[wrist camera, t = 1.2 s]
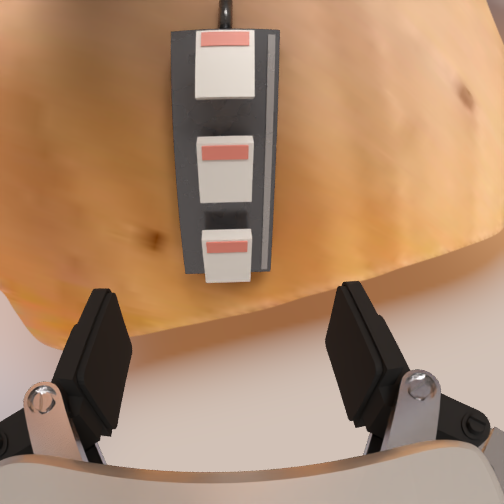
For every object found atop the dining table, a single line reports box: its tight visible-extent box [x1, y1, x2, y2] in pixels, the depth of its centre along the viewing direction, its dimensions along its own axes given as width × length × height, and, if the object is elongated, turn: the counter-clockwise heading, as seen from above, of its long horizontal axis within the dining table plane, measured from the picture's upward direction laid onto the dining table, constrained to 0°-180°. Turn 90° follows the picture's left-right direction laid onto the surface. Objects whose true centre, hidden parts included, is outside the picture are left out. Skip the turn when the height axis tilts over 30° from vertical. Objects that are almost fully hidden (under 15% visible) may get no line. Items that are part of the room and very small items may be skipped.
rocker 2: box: [196, 136, 254, 203], centre depth 26 cm, size 6×4×2 cm
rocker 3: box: [202, 229, 252, 283], centre depth 30 cm, size 6×4×2 cm
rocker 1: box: [195, 30, 255, 100], centre depth 21 cm, size 6×4×2 cm
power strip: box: [171, 0, 280, 274], centre depth 28 cm, size 28×9×4 cm, turn 179°
